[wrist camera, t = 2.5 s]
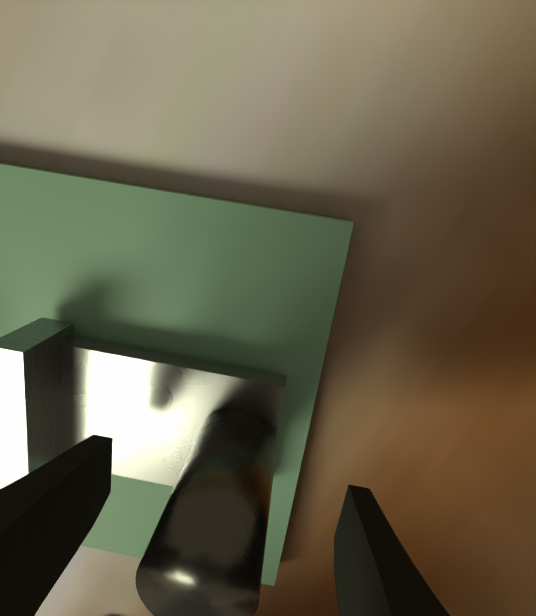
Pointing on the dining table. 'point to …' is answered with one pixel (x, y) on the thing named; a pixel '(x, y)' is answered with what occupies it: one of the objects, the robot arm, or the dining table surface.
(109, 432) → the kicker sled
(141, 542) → the board
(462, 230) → the dining table surface
